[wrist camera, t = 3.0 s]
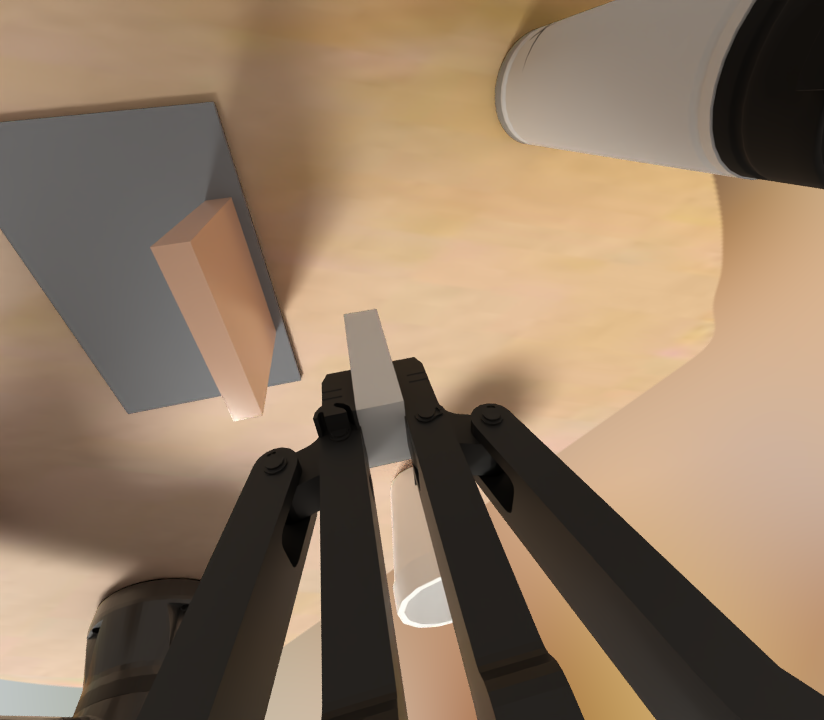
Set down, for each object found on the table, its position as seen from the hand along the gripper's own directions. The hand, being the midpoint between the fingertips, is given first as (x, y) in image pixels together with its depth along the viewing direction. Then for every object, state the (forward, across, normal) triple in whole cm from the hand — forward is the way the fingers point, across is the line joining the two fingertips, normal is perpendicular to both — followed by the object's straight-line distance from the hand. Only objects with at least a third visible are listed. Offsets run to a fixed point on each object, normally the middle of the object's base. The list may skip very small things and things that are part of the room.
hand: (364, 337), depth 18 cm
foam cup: (+13, -3, +28) cm, 31 cm away
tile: (+12, +7, 0) cm, 14 cm away
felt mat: (+13, +13, 0) cm, 18 cm away
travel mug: (+13, -14, -9) cm, 21 cm away
